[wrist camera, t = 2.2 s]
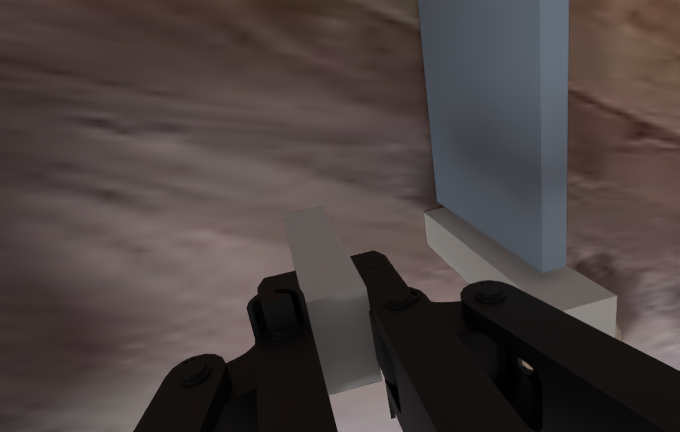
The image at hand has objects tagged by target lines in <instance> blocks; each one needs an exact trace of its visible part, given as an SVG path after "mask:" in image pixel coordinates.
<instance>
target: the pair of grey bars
mask: <svg viewBox="0 0 680 432" xmlns="http://www.w3.org/2000/svg"><path fill="white" fill-rule="evenodd" d="M424 220H425V229H426V238H427V244H428V245H429V246H430V247H431V248H432V249H433V250H434V251H435V252H436V253H437V254H438V255H439V256H440V257H441V258H442V259H444V260H445V261H446V262H447V263H448V264H449V265H450V266H451V267H452V268H453V269H454V270H455V271H456V272H457V273H458V274H459V275H461V276H462V277H463V278H464V279H465V280H466V281H467V282H468V283H469V284H472V283H475V282H479V281H483V280H485V281H486V280H493V281H500V282H504V283H507V284H510V285H512V286H514V287H516V288H518V289H520V290H522V291H524V292H526V293H528V294H530V295H532V296H534V297H536V298H538V299H540V300H542V301H544V302H546V303H547V304H549V305H551V306H553V307H555V308H557V309H559V310H561V311H563V312H565V313H567V314H569V315H571V316H573V317H575V318H577V319H579V320H581V321H583V322H585V323H587V324H589V325H590V326H592V327H594V328H596V329H598V330H600V331H602V332H604V333H606V334H608V335H610V336H612V337H614V338H615V327H616V310H617V295H615V294H614V293H612V292H610V291H609V290H607V289H605V288H604V287H602V286H600V285H599V284H597V283H595V282H594V281H592V280H590V279H589V278H587V277H585V276H584V275H582V274H581V273H579V272H577V271H576V270H574V269H572V268H571V267H569V266H567V265H566V267H562V268H559V269H555V270H551V271H547V272H544V273H542V272H540V271H539V270H537V269H536V268H534V267H533V266H531V265H530V264H529V263H527V262H526V261H524V260H523V259H521V258H520V257H518V256H517V255H515V254H514V253H512V252H511V251H509V250H508V249H506V248H505V247H503V246H502V245H501V244H499V243H498V242H496V241H495V240H493V239H492V238H490V237H489V236H487V235H486V234H484V233H483V232H481V231H480V230H478V229H477V228H475V227H474V226H472V225H471V224H470V223H468V222H467V221H465V220H464V219H462V218H461V217H459V216H458V215H456V214H455V213H453V212H452V211H450V210H449V209H447V208H446V207H443V208H438V209H434V210H430V211H426V212H424Z"/></svg>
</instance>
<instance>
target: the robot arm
mask: <svg viewBox="0 0 680 432" xmlns="http://www.w3.org/2000/svg"><path fill="white" fill-rule="evenodd" d="M283 218H284V223H285V227H286V232H287V236H288V240H289V245H290V249H291V254H292V258H293V262H294V267H295V271H292V272H288V273H284V274H280V275H275V276H271V277H267V278H264V279H263V280H262V282H261V283H260V285H259V286H258V295H256V296H254V297H253V298H252V299H251V300H250V301H249V303H248V306H247V311H248V315H249V319H250V322H251V326H252V329H253V333H254V337H255V345H254V346H253V347H252V348H251V349H250V350H249V351H247V352H246V353H245V354H243V355H242V356H240V357H238V358H236V359H234V360H232V361H230V362H228V363H225V361H224V360H223V358H222V357H220V356H218V355H216V354H203V355H198V356H194V357H191V358H189V359H187V360H185V361H183V362H181V363H180V364H178V365H177V366H176V367H174V368H173V369H172V370H171V371H170V372H169V373H168V375H167V376H166V377H165V379H164V380H163V382H162V384H161V385H160V387H159V389H158V391H157V392H156V394H155V396H154V397H153V399H152V401H151V402H150V404H149V406H148V408H147V409H146V411H145V413H144V414H143V416H142V418H141V419H140V421H139V423H138V425H137V426H136V428H135V430H134V431H133V432H338V431H337V427H336V423H335V419H334V415H333V411H332V407H331V403H330V399H329V395H332V394H336V393H339V392H343V391H347V390H350V389H354V388H357V387H361V386H364V385H368V384H372V383H375V382H379V381H382V378H381V372H380V368H381V370H382V373H383V375H384V377H385V383H386V389H387V395H388V402H389V408H390V414H391V419H393V418H396V416H397V419H398V421H399V423H400V426H401V428H402V430H403V432H680V371H678V370H676V369H674V368H672V367H671V366H669V365H667V364H665V363H663V362H661V361H659V360H657V359H655V358H653V357H651V356H649V355H647V354H645V353H643V352H641V351H639V350H637V349H635V348H633V347H631V346H630V345H628V344H626V343H624V342H622V341H620V340H618V339H616V338H614V337H612V336H610V335H608V334H606V333H604V332H602V331H600V330H598V329H596V328H594V327H592V326H590V325H589V324H587V323H585V322H583V321H581V320H579V319H577V318H575V317H573V316H571V315H569V314H567V313H565V312H563V311H561V310H559V309H557V308H555V307H553V306H551V305H549V304H547V303H546V302H544V301H542V300H540V299H538V298H536V297H534V296H532V295H530V294H528V293H526V292H524V291H522V290H520V289H518V288H516V287H514V286H512V285H510V284H507V283H504V282H500V281H493V280H486V281H485V280H483V281H479V282H475V283H472V284H469V285H468V286H466V287H465V288H463V290H462V292H461V293H460V294H461V301H458V302H431V301H430V300H429V299H428V297H427V296H426V295H425V294H424V293H423V292H421V291H420V290H418V289H414V288H411V287H408V286H407V285H406V283H405V282H404V281H403V279H402V278H401V277H400V275H399V274H398V272H397V271H395V268H394V267H393V266H392V264H391V263H390V261H389V260H388V259H387V257H386V256H385V255H383V254H381V253H378V252H376V251H370V252H366V253H362V254H358V255H353V256H349V254H348V252H347V250H346V249H345V247H344V245H343V243H342V241H341V239H340V238H339V236H338V234H337V232H336V230H335V228H334V226H333V225H332V223H331V221H330V219H329V217H328V215H327V214H326V212H325V210H324V208H323V206H320V207H316V208H311V209H307V210H302V211H298V212H293V213H289V214H284V215H283ZM522 360H523V361H524V362H525V363H527V364H528V365H529V366H530V367H532V368H533V371H532V370H530V369H528V368H527V367H525V366H524V365H522ZM395 414H396V416H395Z"/></svg>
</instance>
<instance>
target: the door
mask: <svg viewBox="0 0 680 432" xmlns="http://www.w3.org/2000/svg"><path fill="white" fill-rule="evenodd" d="M418 10H419V20H420V30H421V41H422V51H423V61H424V72H425V82H426V92H427V103H428V113H429V124H430V134H431V144H432V155H433V165H434V175H435V186H436V196H437V202H439V203H440V204H441V205H443V206H444V207H446V208H447V209H449V210H450V211H452V212H453V213H455V214H456V215H458V216H459V217H461V218H462V219H464V220H465V221H467V222H468V223H470V224H471V225H472V226H474V227H475V228H477V229H478V230H480V231H481V232H483V233H484V234H486V235H487V236H489V237H490V238H492V239H493V240H495V241H496V242H498V243H499V244H501V245H502V246H503V247H505V248H506V249H508V250H509V251H511V252H512V253H514V254H515V255H517V256H518V257H520V258H521V259H523V260H524V261H526V262H527V263H529V264H530V265H531V266H533V267H534V268H536V269H537V270H539V271H540V272H542V273H544V272H547V271H551V270H555V269H559V268H562V267H566V231H567V139H568V46H569V0H418Z"/></svg>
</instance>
